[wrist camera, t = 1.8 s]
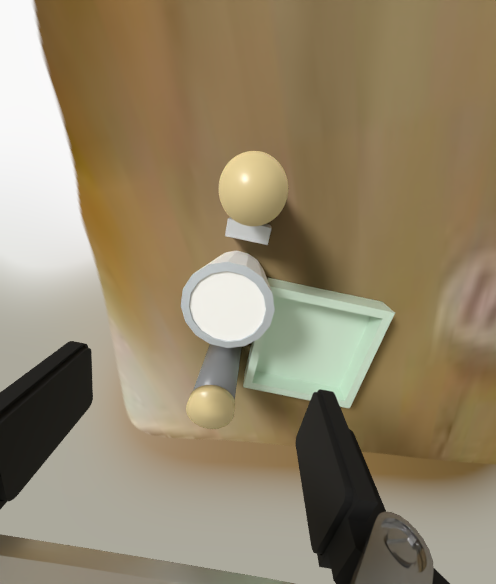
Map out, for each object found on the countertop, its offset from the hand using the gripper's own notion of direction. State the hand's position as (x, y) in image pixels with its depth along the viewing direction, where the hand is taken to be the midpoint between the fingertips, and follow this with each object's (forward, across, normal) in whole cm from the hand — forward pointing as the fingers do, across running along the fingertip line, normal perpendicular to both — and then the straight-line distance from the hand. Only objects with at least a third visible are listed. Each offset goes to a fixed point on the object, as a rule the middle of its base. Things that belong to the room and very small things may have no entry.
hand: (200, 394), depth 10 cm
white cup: (+15, 0, 0) cm, 15 cm away
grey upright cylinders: (+15, 0, 0) cm, 15 cm away
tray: (+15, -9, +5) cm, 18 cm away
